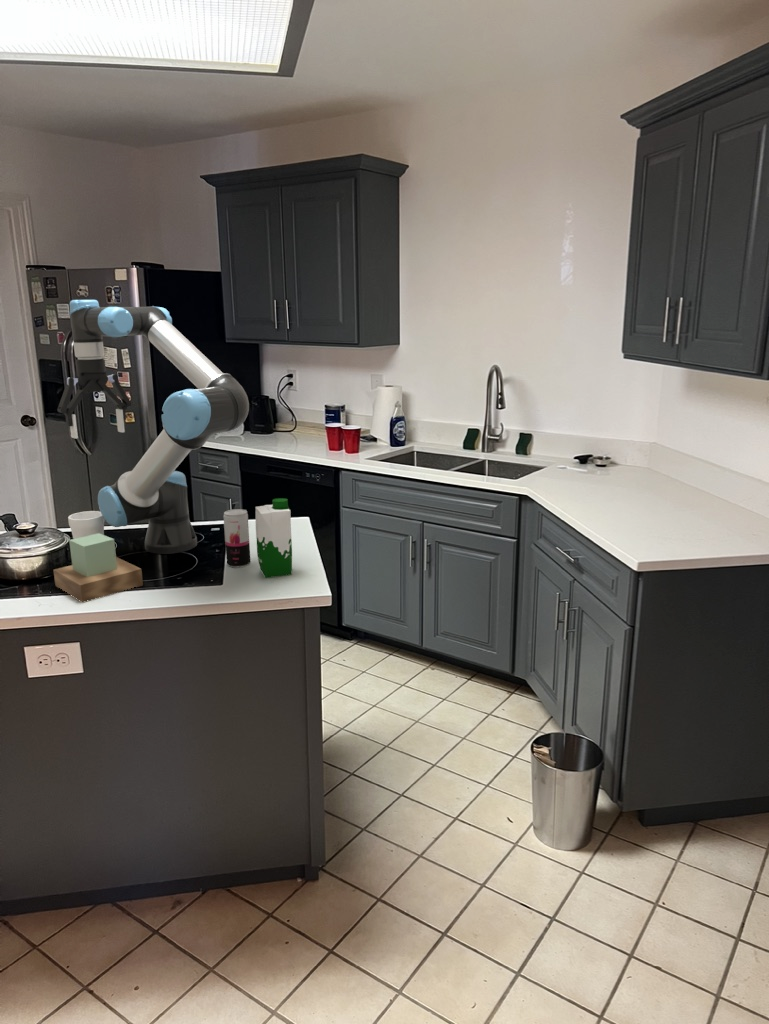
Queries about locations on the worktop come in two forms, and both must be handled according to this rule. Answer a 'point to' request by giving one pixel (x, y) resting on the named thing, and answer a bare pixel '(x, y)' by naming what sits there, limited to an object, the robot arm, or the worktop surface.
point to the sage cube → (93, 554)
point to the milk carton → (274, 538)
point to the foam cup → (86, 523)
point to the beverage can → (237, 538)
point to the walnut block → (98, 581)
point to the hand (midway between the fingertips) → (98, 435)
